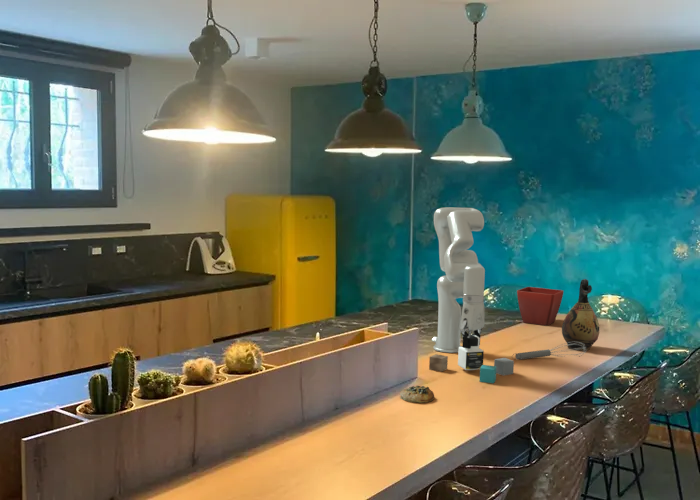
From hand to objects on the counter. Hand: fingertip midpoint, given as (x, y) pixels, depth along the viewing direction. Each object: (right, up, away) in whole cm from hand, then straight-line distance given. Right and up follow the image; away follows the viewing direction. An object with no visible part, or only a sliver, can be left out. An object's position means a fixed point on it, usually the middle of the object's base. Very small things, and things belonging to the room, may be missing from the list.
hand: (471, 345), depth 255 cm
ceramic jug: (+55, -7, +42) cm, 70 cm away
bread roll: (-24, -13, -34) cm, 43 cm away
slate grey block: (+12, -10, -1) cm, 15 cm away
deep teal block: (+4, -11, -12) cm, 17 cm away
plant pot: (+52, -2, +98) cm, 111 cm away
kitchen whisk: (+36, -9, +24) cm, 44 cm away
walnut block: (-12, -9, +2) cm, 15 cm away
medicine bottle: (0, -8, +1) cm, 8 cm away
